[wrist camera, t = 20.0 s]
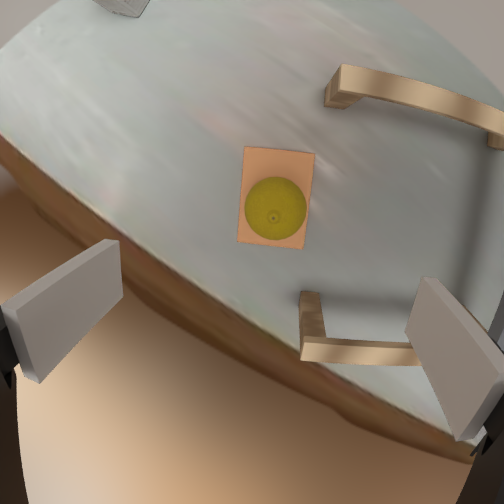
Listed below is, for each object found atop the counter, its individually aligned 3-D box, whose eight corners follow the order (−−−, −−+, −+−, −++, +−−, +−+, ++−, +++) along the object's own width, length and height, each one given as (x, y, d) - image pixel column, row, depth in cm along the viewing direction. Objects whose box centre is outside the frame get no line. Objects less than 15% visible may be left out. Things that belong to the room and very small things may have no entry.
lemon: (247, 175, 31) (234, 185, 24) (302, 171, 31) (307, 180, 23) (252, 228, 33) (241, 254, 26) (305, 225, 32) (311, 250, 25)
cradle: (500, 134, 26) (554, 137, 17) (459, 318, 34) (493, 363, 25) (325, 87, 28) (341, 63, 19) (298, 306, 36) (300, 360, 27)
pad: (314, 153, 30) (314, 153, 30) (303, 248, 34) (303, 249, 33) (245, 146, 31) (244, 146, 30) (237, 240, 34) (237, 241, 34)
